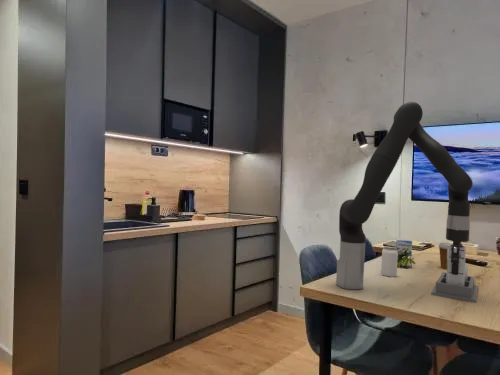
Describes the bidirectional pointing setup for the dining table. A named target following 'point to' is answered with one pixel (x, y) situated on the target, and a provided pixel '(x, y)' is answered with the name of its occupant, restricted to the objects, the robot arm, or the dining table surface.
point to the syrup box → (460, 277)
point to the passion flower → (405, 258)
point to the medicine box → (404, 245)
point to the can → (389, 262)
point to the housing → (456, 288)
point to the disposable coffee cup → (443, 254)
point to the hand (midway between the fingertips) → (455, 272)
